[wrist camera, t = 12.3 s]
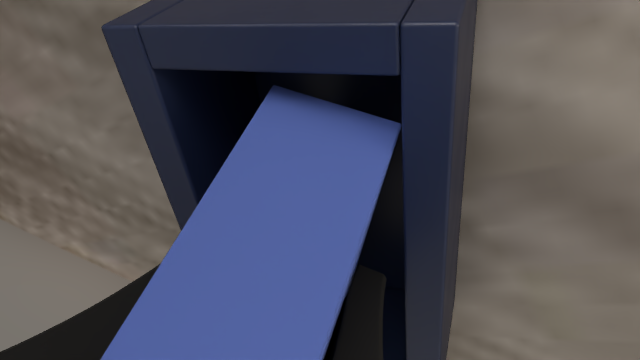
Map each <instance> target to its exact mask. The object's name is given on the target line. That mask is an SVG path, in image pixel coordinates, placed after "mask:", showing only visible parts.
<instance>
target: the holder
mask: <svg viewBox="0 0 640 360" xmlns="http://www.w3.org/2000/svg"><path fill="white" fill-rule="evenodd" d="M476 11H477V0H152V1H150V2H148V3H146V4H144V5H142V6H140V7H138V8H136V9H134V10H132V11H130V12H128V13H126V14H124V15H122V16H120V17H118V18H116V19H114V20H112V21H110V22H108V23H106V24H104V25H103V26H102V31H103V34H104V36H105V39H106V41H107V44H108V47H109V49H110V52H111V54H112V57H113V59H114V62H115V64H116V67H117V69H118V72H119V74H120V77H121V79H122V82H123V84H124V87H125V90H126V92H127V95H128V97H129V100H130V102H131V105H132V107H133V110H134V112H135V115H136V117H137V120H138V122H139V125H140V127H141V130H142V132H143V135H144V138H145V140H146V143H147V145H148V148H149V150H150V153H151V155H152V158H153V160H154V163H155V165H156V168H157V170H158V173H159V175H160V178H161V181H162V183H163V186H164V188H165V191H166V193H167V196H168V198H169V201H170V203H171V206H172V208H173V211H174V213H175V216H176V218H177V221H178V224H179V226H180V229H181V231H182V229H183V228H184V226H185V224H186V223H187V221H188V220H189V218H190V216H191V215H192V213H193V212H194V210H195V209H196V207H197V205H198V204H199V202H200V201H201V199H202V197H203V196H204V194H205V193H206V191H207V189H208V188H209V186H210V185H211V183H212V182H213V180H214V178H215V177H216V175H217V174H218V172H219V170H220V169H221V167H222V166H223V164H224V162H225V161H226V159H227V158H228V156H229V155H230V153H231V151H232V150H233V148H234V147H235V145H236V143H237V142H238V140H239V139H240V137H241V135H242V134H243V132H244V131H245V129H246V128H247V126H248V124H249V123H250V121H251V120H252V118H253V116H254V115H255V113H256V112H257V110H258V108H259V107H260V105H261V104H262V102H263V101H264V99H265V97H266V96H267V94H268V93H269V91H270V89H271V88H272V86H273V85H276V86H279V87H282V88H286V89H289V90H292V91H295V92H299V93H302V94H305V95H309V96H312V97H315V98H318V99H322V100H325V101H328V102H332V103H335V104H338V105H341V106H345V107H348V108H351V109H355V110H358V111H361V112H364V113H368V114H371V115H374V116H378V117H381V118H384V119H387V120H391V121H394V122H397V123H400V124H401V125H402V126H401V130H400V133H399V136H398V139H397V142H396V145H395V148H394V151H393V154H392V158H391V161H390V164H389V167H388V170H387V173H386V176H385V179H384V183H383V186H382V189H381V192H380V195H379V198H378V201H377V204H376V207H375V211H374V214H373V217H372V220H371V223H370V226H369V229H368V232H367V236H366V239H365V242H364V245H363V248H362V251H361V254H360V257H359V261H358V264H360V265H362V266H365V267H367V268H370V269H372V270H375V271H377V272H380V273H382V274H384V275H385V277H386V279H387V280H386V285H385V293H384V304H383V360H446V355H447V348H448V341H449V334H450V327H451V320H452V312H453V306H454V298H455V285H456V272H457V258H458V245H459V232H460V219H461V206H462V193H463V180H464V167H465V154H466V141H467V128H468V115H469V102H470V89H471V76H472V63H473V50H474V37H475V24H476ZM358 264H357V267H358ZM357 267H356V270H357ZM356 270H355V272H356ZM354 275H355V273H354ZM353 277H354V276H353ZM352 280H353V279H352Z"/></svg>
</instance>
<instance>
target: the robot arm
mask: <svg viewBox="0 0 640 360" xmlns="http://www.w3.org/2000/svg"><path fill="white" fill-rule="evenodd" d="M159 266H160V264H159V265H158V266H156V267H155V268H153V269H152V270H150V271H149V272H147V273H146V274H144V275H143V276H141V277H140V278H138V279H136V280H135V281H133V282H132V283H130V284H128V285H127V286H125V287H124V288H122V289H121V290H119V291H118V292H116V293H114V294H112V295H111V296H109V297H107V298H106V299H104V300H102V301H101V302H99V303H97V304H95V305H94V306H92V307H90V308H88V309H87V310H84V311H83V312H81V313H79V314H77V315H75V316H73V317H72V318H70V319H68V320H66V321H64V322H62V323H60V324H58V325H56V326H54V327H52V328H50V329H48V330H46V331H44V332H42V333H40V334H38V335H36V336H34V337H32V338H30V339H28V340H25V341H23V342H21V343H19V344H17V345H15V346H12V347H10V348H8V349H6V350H3V351H1V352H0V360H100V359H101V358H102V356H103V355H104V353H105V351H106V350H107V348H108V347H109V345H110V344H111V342H112V340H113V339H114V337H115V336H116V334H117V332H118V331H119V329H120V328H121V326H122V324H123V323H124V321H125V320H126V318H127V317H128V315H129V313H130V312H131V310H132V309H133V307H134V305H135V304H136V302H137V301H138V299H139V297H140V296H141V294H142V293H143V291H144V290H145V288H146V286H147V285H148V283H149V282H150V280H151V278H152V277H153V275H154V274H155V272H156V270H157V269H158V267H159ZM386 280H387V279H386V277H385V275H384V274H382V273H380V272H377V271H375V270H372V269H370V268H367V267H365V266H362V265H360V264H358V267H357V270H356V272H355V275H354V277H353V280H352V282H351V285H350V288H349V290H348V293H347V295H346V298H345V300H344V303H343V306H342V309H341V312H340V315H339V317H338V320H337V323H336V326H335V329H334V332H333V335H332V338H331V341H330V344H329V347H328V350H327V353H326V356H325V359H324V360H383V304H384V293H385V285H386Z"/></svg>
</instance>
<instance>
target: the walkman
mask: <svg viewBox="0 0 640 360" xmlns="http://www.w3.org/2000/svg"><path fill="white" fill-rule="evenodd" d="M401 126H402V125H401V124H400V123H397V122H394V121H391V120H387V119H384V118H381V117H378V116H374V115H371V114H368V113H364V112H361V111H358V110H355V109H351V108H348V107H345V106H341V105H338V104H335V103H332V102H328V101H325V100H322V99H318V98H315V97H312V96H309V95H305V94H302V93H299V92H295V91H292V90H289V89H286V88H282V87H279V86H276V85H273V86H272V88H271V89H270V91H269V93H268V94H267V96H266V97H265V99H264V101H263V102H262V104H261V105H260V107H259V108H258V110H257V112H256V113H255V115H254V116H253V118H252V120H251V121H250V123H249V124H248V126H247V128H246V129H245V131H244V132H243V134H242V135H241V137H240V139H239V140H238V142H237V143H236V145H235V147H234V148H233V150H232V151H231V153H230V155H229V156H228V158H227V159H226V161H225V162H224V164H223V166H222V167H221V169H220V170H219V172H218V174H217V175H216V177H215V178H214V180H213V182H212V183H211V185H210V186H209V188H208V189H207V191H206V193H205V194H204V196H203V197H202V199H201V201H200V202H199V204H198V205H197V207H196V209H195V210H194V212H193V213H192V215H191V216H190V218H189V220H188V221H187V223H186V224H185V226H184V228H183V229H182V231H181V232H180V234H179V236H178V237H177V239H176V240H175V242H174V243H173V245H172V247H171V248H170V250H169V251H168V253H167V255H166V256H165V258H164V259H163V261H162V263H161V264H160V266H159V267H158V269H157V270H156V272H155V274H154V275H153V277H152V278H151V280H150V282H149V283H148V285H147V286H146V288H145V290H144V291H143V293H142V294H141V296H140V297H139V299H138V301H137V302H136V304H135V305H134V307H133V309H132V310H131V312H130V313H129V315H128V317H127V318H126V320H125V321H124V323H123V324H122V326H121V328H120V329H119V331H118V332H117V334H116V336H115V337H114V339H113V340H112V342H111V344H110V345H109V347H108V348H107V350H106V351H105V353H104V355H103V356H102V358H101V359H100V360H324V359H325V356H326V353H327V350H328V347H329V344H330V341H331V338H332V335H333V332H334V329H335V326H336V323H337V320H338V317H339V315H340V312H341V309H342V306H343V303H344V300H345V298H346V295H347V293H348V290H349V288H350V285H351V282H352V279H353V276H354V273H355V270H356V267H357V264H358V261H359V257H360V254H361V251H362V248H363V245H364V242H365V239H366V236H367V232H368V229H369V226H370V223H371V220H372V217H373V214H374V211H375V207H376V204H377V201H378V198H379V195H380V192H381V189H382V186H383V183H384V179H385V176H386V173H387V170H388V167H389V164H390V161H391V158H392V154H393V151H394V148H395V145H396V142H397V139H398V136H399V133H400V130H401Z"/></svg>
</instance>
